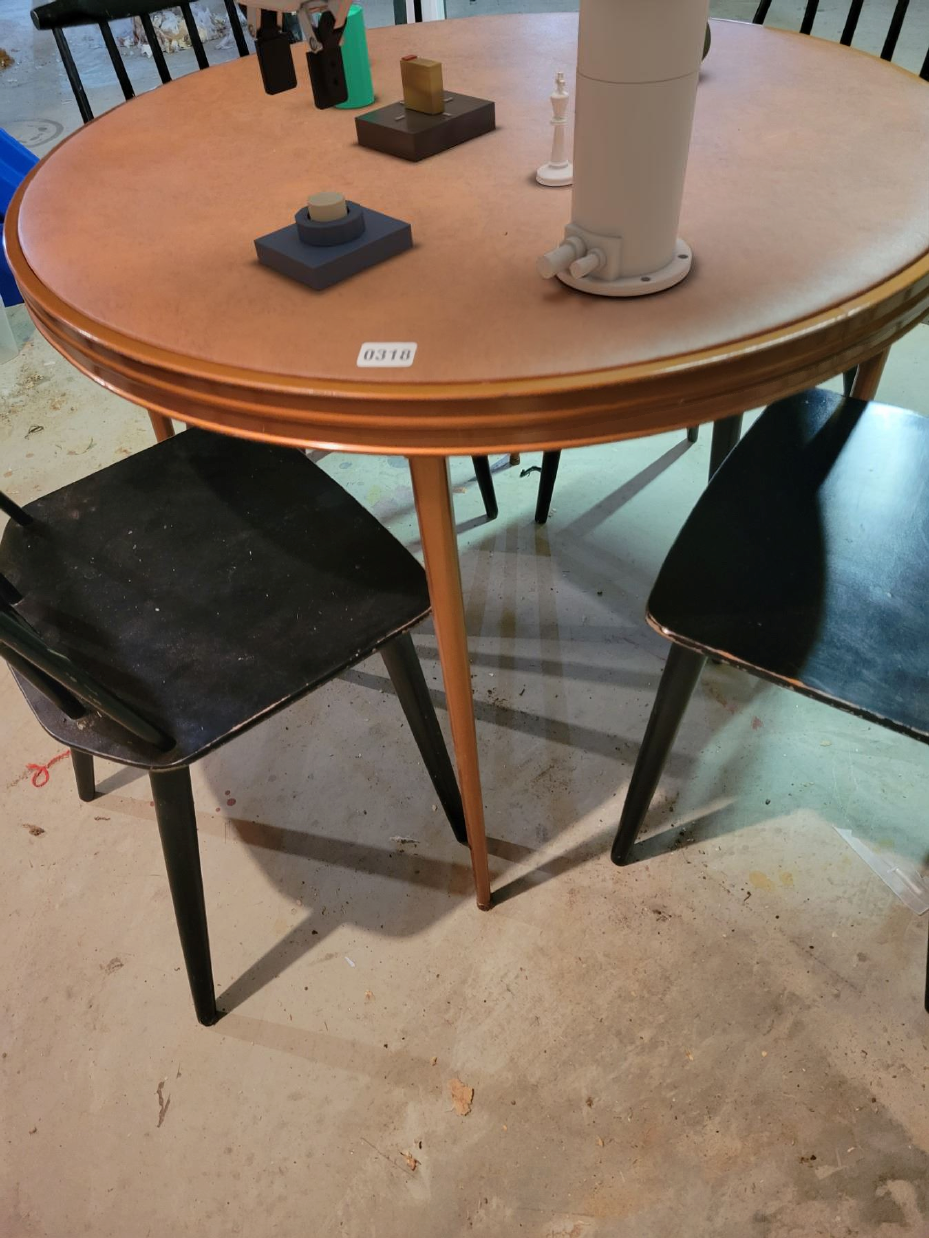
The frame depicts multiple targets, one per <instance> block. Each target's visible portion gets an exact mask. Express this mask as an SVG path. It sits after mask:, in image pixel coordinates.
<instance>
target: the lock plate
mask: <svg viewBox="0 0 929 1238" xmlns="http://www.w3.org/2000/svg"><path fill="white" fill-rule="evenodd" d="M443 91H444V105H445V111H442V112H440V113H437V114H435V115H432V114H428V113H424V112H420V111H417V110H413V109H409V108H405V105H404V99H402V100H399V101H396V102H393V103H390V104H388V105H385V106H382V107H380V108H377V109H374V110H371V111H368V112H365V113H363V114H360V115H357V116H354V125H355V130H356V137H357V143H358V145H360V146H362V147H363V146H364V147H367V148H370V149H372V150H377V151H380V152H383V153H386V154H388V155H389V154H390V155H393V156H395V157H399V158H402V159H405V160H408V161H411V162H415V163H416V162H418V161H421V160H423V159H426V158H428V157H430V156H433V155H435V154H437V153H439V152H442V151H445V150H447V149H449V148H453V147H454V146H457V145H460V144H462V143H465V142H467V141H469V140H472V139H475V138H476V137H479V136H482V135H484V134H486V133H488V132H491V131H494V130H495V129H496V102H495V101H493V100H489V99H484V98H481V97H475V96H471V95H467V94H464V93H463V94H462V93H459V92H455V91H450V90H446V89H443Z"/></svg>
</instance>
